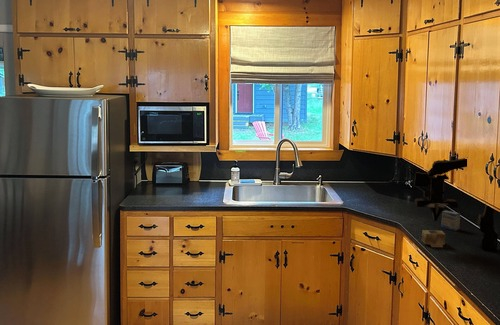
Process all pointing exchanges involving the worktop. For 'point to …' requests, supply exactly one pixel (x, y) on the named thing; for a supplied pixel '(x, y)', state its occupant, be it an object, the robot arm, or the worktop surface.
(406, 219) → the worktop surface
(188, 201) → the worktop surface
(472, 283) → the worktop surface
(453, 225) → the medicine box
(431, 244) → the mat
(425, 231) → the wooden block
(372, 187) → the worktop surface
